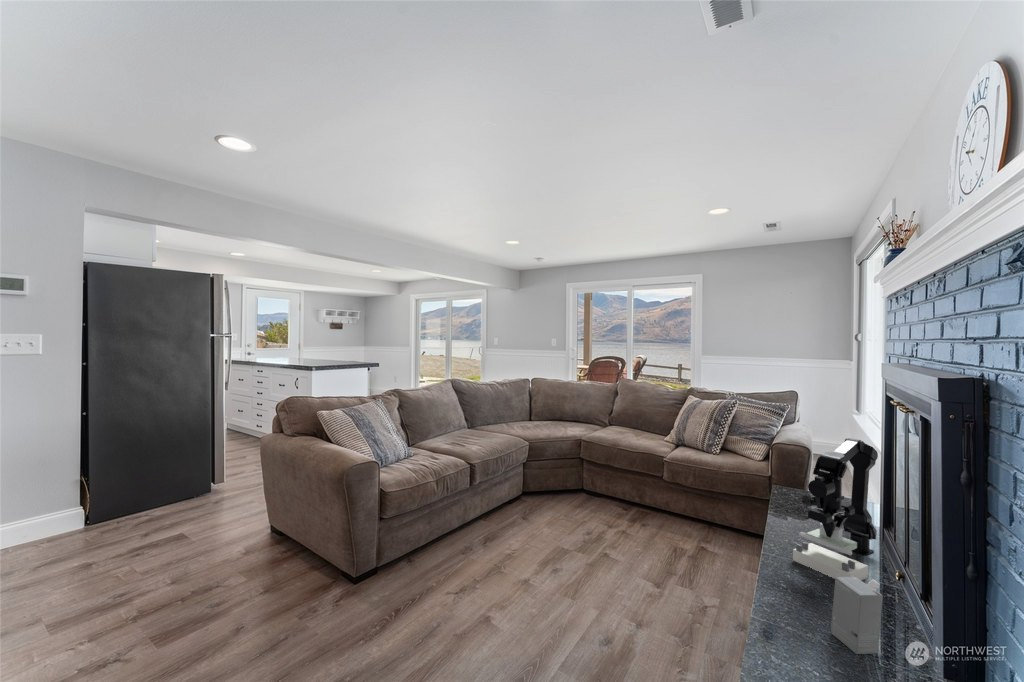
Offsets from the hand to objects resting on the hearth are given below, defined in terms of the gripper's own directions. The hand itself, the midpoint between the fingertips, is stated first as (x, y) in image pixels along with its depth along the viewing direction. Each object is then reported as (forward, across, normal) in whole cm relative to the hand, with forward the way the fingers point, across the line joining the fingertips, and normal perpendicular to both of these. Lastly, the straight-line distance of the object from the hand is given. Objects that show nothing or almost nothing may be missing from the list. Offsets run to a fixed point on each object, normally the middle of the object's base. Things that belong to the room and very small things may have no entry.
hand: (831, 536), depth 151 cm
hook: (+11, +19, +18) cm, 28 cm away
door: (+2, 0, 0) cm, 2 cm away
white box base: (+11, +1, 0) cm, 11 cm away
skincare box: (+11, +36, +24) cm, 44 cm away
